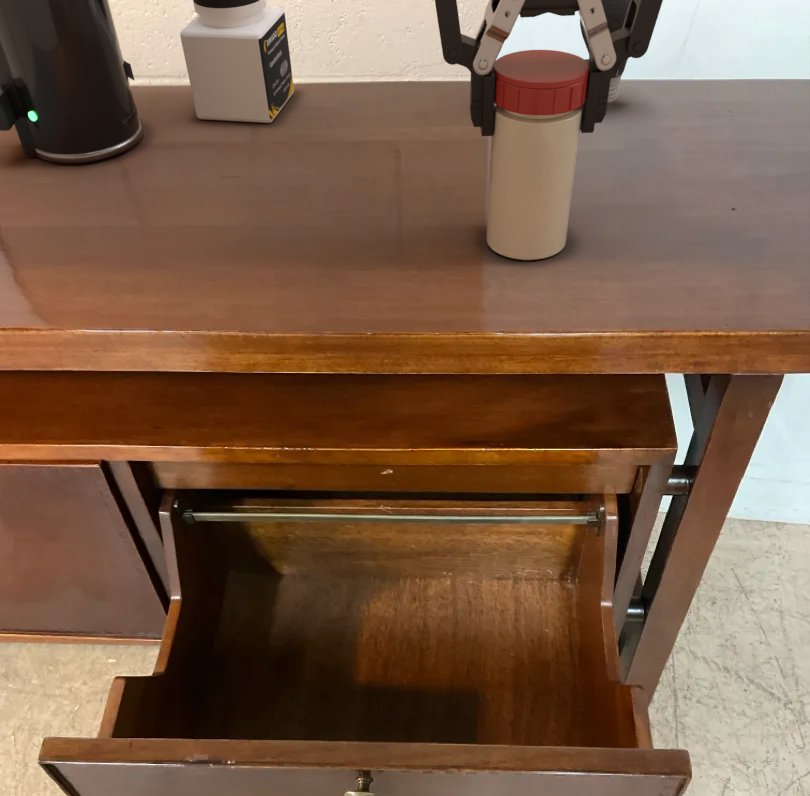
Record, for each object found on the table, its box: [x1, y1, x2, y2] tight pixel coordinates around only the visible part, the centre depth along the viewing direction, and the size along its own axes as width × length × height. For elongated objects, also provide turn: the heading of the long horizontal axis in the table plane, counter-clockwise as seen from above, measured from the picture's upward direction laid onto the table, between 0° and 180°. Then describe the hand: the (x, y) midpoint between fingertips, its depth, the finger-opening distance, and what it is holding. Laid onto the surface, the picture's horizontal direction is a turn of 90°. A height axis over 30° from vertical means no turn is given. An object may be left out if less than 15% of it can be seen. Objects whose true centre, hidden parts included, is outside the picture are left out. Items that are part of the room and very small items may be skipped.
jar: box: [485, 103, 583, 261], centre depth 55 cm, size 6×6×11 cm
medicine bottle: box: [179, 0, 295, 124], centre depth 72 cm, size 7×7×12 cm
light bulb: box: [579, 0, 630, 107], centre depth 71 cm, size 6×6×10 cm
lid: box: [493, 49, 589, 116], centre depth 52 cm, size 6×6×2 cm
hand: (536, 128), depth 54 cm, fingers closed on lid, 5 cm apart
